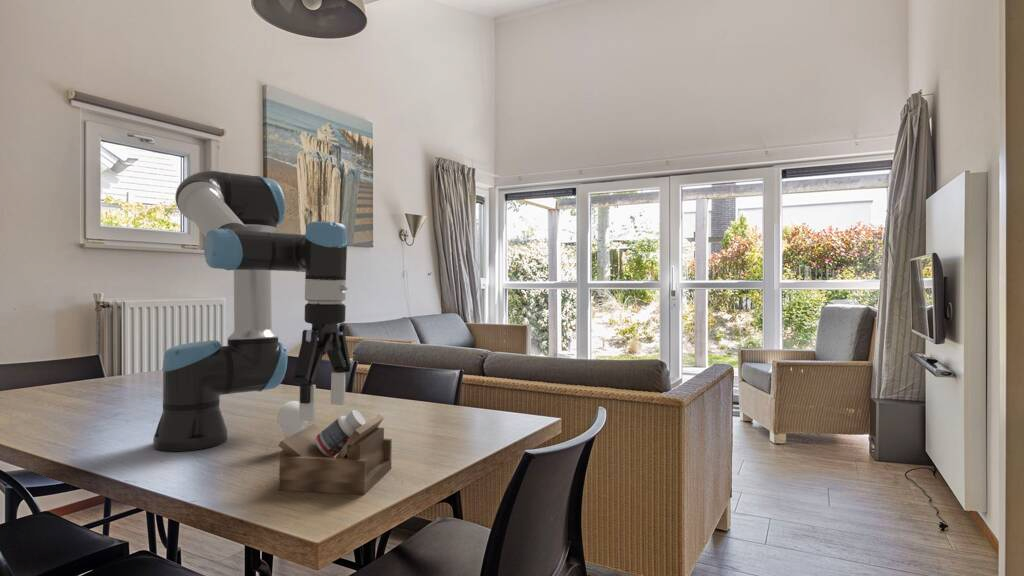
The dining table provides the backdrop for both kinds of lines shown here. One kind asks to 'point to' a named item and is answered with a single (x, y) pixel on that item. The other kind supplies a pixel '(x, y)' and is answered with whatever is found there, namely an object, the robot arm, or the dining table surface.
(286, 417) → the light bulb
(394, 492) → the dining table surface
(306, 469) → the wooden box with flaps
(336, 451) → the pill bottle
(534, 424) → the dining table surface
